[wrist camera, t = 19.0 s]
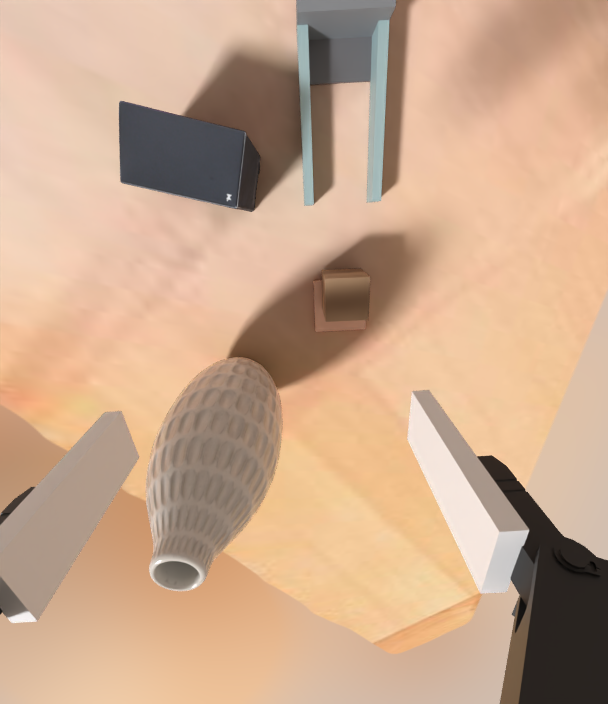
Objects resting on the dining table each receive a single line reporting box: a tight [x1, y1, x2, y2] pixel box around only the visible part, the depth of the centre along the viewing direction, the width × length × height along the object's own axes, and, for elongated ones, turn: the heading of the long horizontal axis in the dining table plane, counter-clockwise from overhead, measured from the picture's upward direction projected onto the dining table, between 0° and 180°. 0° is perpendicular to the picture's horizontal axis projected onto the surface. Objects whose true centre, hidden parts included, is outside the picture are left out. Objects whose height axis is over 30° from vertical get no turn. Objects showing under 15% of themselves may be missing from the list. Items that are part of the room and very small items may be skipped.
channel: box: [296, 0, 396, 206], centre depth 32 cm, size 16×8×5 cm, turn 3°
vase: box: [146, 357, 283, 591], centre depth 34 cm, size 13×13×28 cm
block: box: [322, 268, 370, 322], centre depth 38 cm, size 5×5×6 cm
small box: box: [119, 101, 260, 212], centre depth 31 cm, size 11×6×10 cm, turn 78°
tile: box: [313, 280, 366, 332], centre depth 42 cm, size 7×7×1 cm
